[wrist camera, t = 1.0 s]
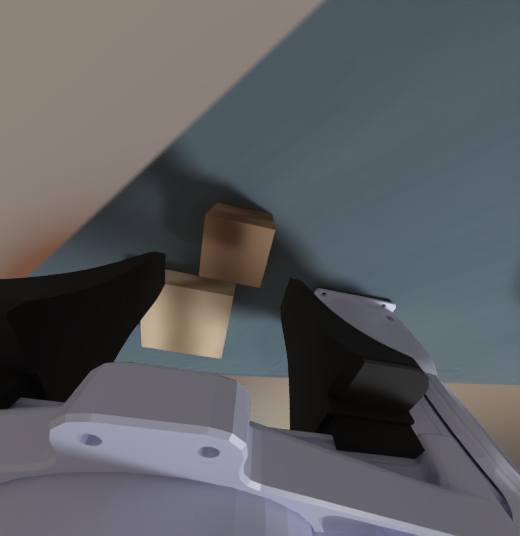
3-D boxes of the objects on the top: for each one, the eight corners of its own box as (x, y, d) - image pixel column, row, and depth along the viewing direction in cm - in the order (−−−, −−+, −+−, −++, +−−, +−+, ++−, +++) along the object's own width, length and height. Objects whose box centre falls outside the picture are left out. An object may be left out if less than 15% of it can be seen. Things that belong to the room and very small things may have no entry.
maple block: (236, 280, 23) (233, 296, 20) (225, 339, 27) (221, 358, 24) (153, 264, 22) (138, 279, 19) (154, 327, 26) (141, 346, 23)
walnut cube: (272, 214, 19) (275, 229, 15) (260, 261, 21) (260, 288, 17) (218, 201, 19) (204, 214, 14) (212, 251, 21) (198, 276, 16)
